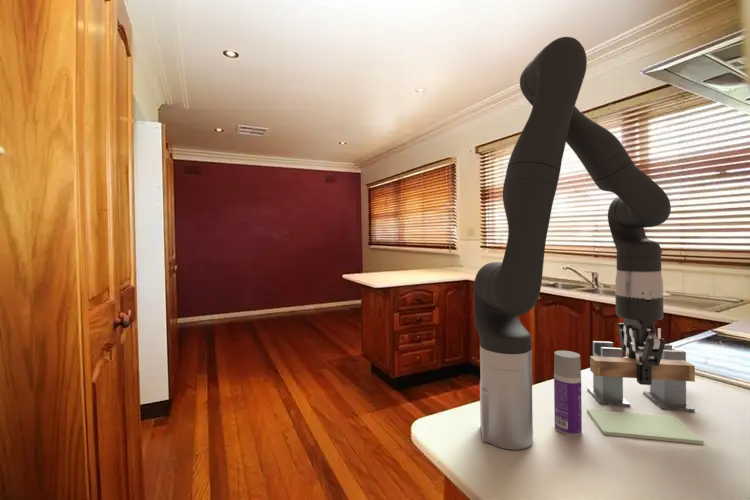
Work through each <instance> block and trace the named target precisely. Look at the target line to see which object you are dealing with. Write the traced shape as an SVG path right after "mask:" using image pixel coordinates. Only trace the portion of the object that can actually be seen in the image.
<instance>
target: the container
mask: <svg viewBox="0 0 750 500" xmlns="http://www.w3.org/2000/svg"><path fill="white" fill-rule="evenodd" d="M553 353H554V355H553V356H554V358H553V359H554V361H553V363H554V364H553V365H554V366H553V371H554V372H553V396H554V398H553V399H554V400H553V403H554V409H553V410H554V428H555V430H556V431H557V432H559V433H560V434H562V435H566V436H568V437H579V436H580V435H582V432H583V422H582V420H583V417H582V414H583V413H582V412H583V411H582V405H583V404H582V369H581V368H582V367H581V364H582V363H581V355H580V354H579V353H578V352H576V351H575V352H574V351H570V350H556V351H554V352H553Z"/></svg>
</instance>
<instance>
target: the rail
mask: <svg viewBox="0 0 750 500" xmlns="http://www.w3.org/2000/svg"><path fill="white" fill-rule="evenodd" d="M695 366H696V365H694V364H692V363H690V362H689V361H687V360H686V361H685V360H663V359H661V360H660V364H659V366H651V369H652V379H658V380H675V381H686V382H696V381H695V377H696V370H695V368H696V367H695ZM589 371H590V372H591V373H592V375H593V374H594V375H595V376H608V377H623V378H626V379H637V362H636V358H627V357H623V358H621V357H600V356H593V355H590V356H589Z"/></svg>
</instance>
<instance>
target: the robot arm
mask: <svg viewBox="0 0 750 500" xmlns="http://www.w3.org/2000/svg"><path fill="white" fill-rule="evenodd" d="M587 59H588V58H587V54H586V50H585V48H584V46H583V45H582V43H581V42H580V41H579V40H578V39H577V38H574V37H572V36H561V37H558V38H555V39H554V40H552V41H550V42H549V43H547V44H546V45H544V46H543V47H542V48H541V49H540V50H539V52H538V53H537V54H536V55H535V56H534V57H533V59H531V60H530V62H529V63H528V64H527V65H526V66H525V68H524V69H523V70H522V72H521V75H520V77H519V87H520V88H519V89H520V91H521V93H522V95H523V96H524V98H525V99H526V100H527V102H528V103H529V104H530V105H531V106H532V107H531V111H530V114H529V116H528V119H527V121H526V123H525V124H524V127H523V129H522V131H521V133H520V134H519V136H518V139H517V141H516V143H515V145H514V146H513V147H514V148H513V149H512V151H511V154H510V158H509V159H508V160H509V161H508V162H507V163H508V164H507V168H506V171H505V177H504V180H503V186H502V202H503V209H504V212H505V217H506V221H507V228H508V229H507V231H508V232H507V240H506V246H505V249H504V254H503V259H502V261H500V262H499V261H493V262H489V263H486V264H485V265H483V266H482V267H480V269H479V270H478V271H477V273H476V275H475V278H474V283H473V307H474V323H475V327H476V331H477V334H478V337H479V362H480V363H479V366H480V368H479V369H480V370H479V371H480V380H479V406H480V407H479V408H480V410H479V412H480V413H479V414H480V415H479V416H480V419H479V420H480V432H481V441H482V442H483V443H489V444H491V445H493V446H495V447H498V448H501V449H506V450H518V451H519V450H523V449H527V448H529V447H531V445H532V444H533V442H534V424H533V423H534V421H533V412H534V411H533V365H532V364H533V362H532V361H533V356H532V353H533V352H532V335H531V333H530V332H529V331H528V330H527V329H526V327H525V326H524V325H523V323H522V321H521V320H520V316H522V315H525V314H527V313H529V312H530V311H531V310H532V309H533V308H534V307H535V306H536V304H537V302H538V299H539V296H540V293H541V290H542V289H541V287H542V280H543V274H544V273H543V270H544V263H545V262H544V261H545V251H546V245H547V244H546V242H547V237H548V232H549V225H550V222H551V221H550V220H551V215H552V207H553V205H554V202H555V201H554V200H555V197H556V192H557V189H558V183H559V179H560V174H561V168H562V161H563V157H564V151H565V148H566V144H567V146H569V147H570V149H571V150H572V151H573V152H574V154H575V156H576V157H577V158H578V159H579V161H580V162H581V164H582V165H583V167H584V168H585V169H586V172H587V173H588V175H589V176H590V178H591V179H592V181H593V182H594V184H595V185H596V187H597V188H598V189H599V190H601V191H603V192H610V193H612V194H615V195H616V196H617V197H615V198H614V199H613V200H612V201H611V203H610V204H609V207H608V210H607V223H608V227H609V230H610V233H611V236H612V241H613V243H614V246H615V248H616V249H615V250H616V275H615V280H614V281H615V284H614V285H615V286H614V287H615V288H614V290H615V315H616V316H618V317H619V318H621V319H623V320H624V321H623V322H620V323H619V322H618V323H617V329H618V335H619V340H620V346H621V347H620V348H621V349H622V351H623V352H624V353H625V356H626V357H625V358H636V362H637V378H636V383H638V384H639V385H645V386H650V385H651V383H652V369H651V366H659V364H660V360H661V357H662V353H663V349H664V346H665V344H666V341H665V339H664V338H661V339H658V336H657V334H656V332H657V329H656V327H655V322H656V321H661V320H662V319H663V320H664V279H663V275H662V249H661V245H660V244H659V243H658V242H656V241H654V240H651V239H649V238H648V237H647V235H646V232H645V228H653V227H657V226H660V225H662V224H663V223H665V222H666V221H667V220H668V219H669V217H670V214H671V210H672V206H671V205H672V204H671V202H670V198H669V197H668V195H667V194H666V192H665V191H664V189H663V188H662V187H661V186H660V185H659V184H657V183H656V182H655V181H654V180H653V179H652V178H650V177H649V176H648V175H647V174H646V173H645V172H643V171H642V170H641V169H640V168H638V166H636V164H635V162H634V161H633V159H632V157H631V156H630V155H629V153H628V151H627V150H626V149H625V146H623V143H621V142H620V139H618V138H617V137H616V135H614V134H613V133H612V132H611V131H609V129H607V128H605V127H603V126H602V125H600V124H599V123H597V122H596V121H593V119H591V118H589V117H588V116H586V115H585V113H583V112H582V111H580V109H579V108H578V107H577V106H576V102H577V100H578V97H579V94H580V90H581V88H582V85H583V82H584V79H585V75H586V72H587V67H588V66H587V65H588V64H587V63H588V62H587ZM653 356H654V357H653Z"/></svg>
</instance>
